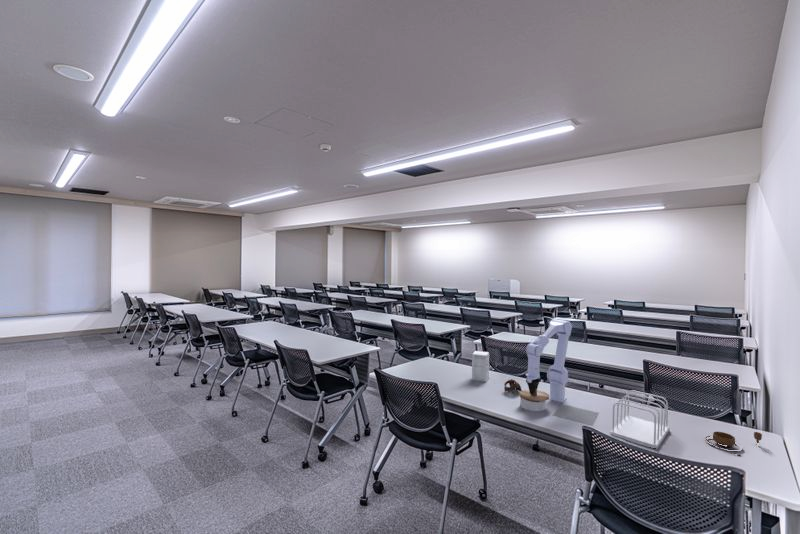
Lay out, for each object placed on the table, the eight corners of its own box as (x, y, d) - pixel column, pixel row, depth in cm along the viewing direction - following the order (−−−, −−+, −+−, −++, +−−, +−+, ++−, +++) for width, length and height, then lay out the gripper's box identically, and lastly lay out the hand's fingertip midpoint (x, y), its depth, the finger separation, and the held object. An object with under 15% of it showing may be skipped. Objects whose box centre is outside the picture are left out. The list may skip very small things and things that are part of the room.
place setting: (700, 434, 167) (701, 421, 167) (760, 445, 158) (760, 432, 157) (710, 451, 152) (711, 437, 152) (777, 465, 142) (777, 450, 142)
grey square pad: (561, 404, 197) (561, 404, 197) (599, 413, 187) (599, 412, 187) (552, 415, 183) (552, 415, 183) (592, 426, 172) (592, 425, 172)
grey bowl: (525, 400, 202) (525, 391, 202) (547, 406, 195) (548, 397, 195) (517, 407, 192) (517, 398, 192) (541, 413, 185) (541, 404, 185)
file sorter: (626, 418, 181) (627, 387, 181) (669, 431, 169) (670, 397, 168) (609, 435, 164) (611, 400, 163) (656, 450, 151) (658, 412, 151)
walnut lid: (527, 389, 204) (526, 382, 204) (554, 395, 193) (553, 388, 193) (513, 396, 193) (513, 389, 193) (541, 403, 183) (541, 395, 183)
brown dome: (525, 396, 210) (519, 385, 208) (509, 402, 212) (503, 391, 210) (519, 384, 222) (514, 373, 220) (505, 389, 223) (499, 379, 221)
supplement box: (489, 377, 240) (489, 352, 240) (486, 382, 232) (487, 355, 232) (474, 375, 244) (475, 350, 244) (471, 379, 236) (471, 353, 236)
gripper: (530, 362, 201) (529, 387, 202) (521, 368, 190) (520, 394, 190) (543, 365, 197) (543, 390, 197) (535, 371, 185) (534, 398, 186)
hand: (533, 392), depth 193 cm, fingers closed on walnut lid, 3 cm apart
